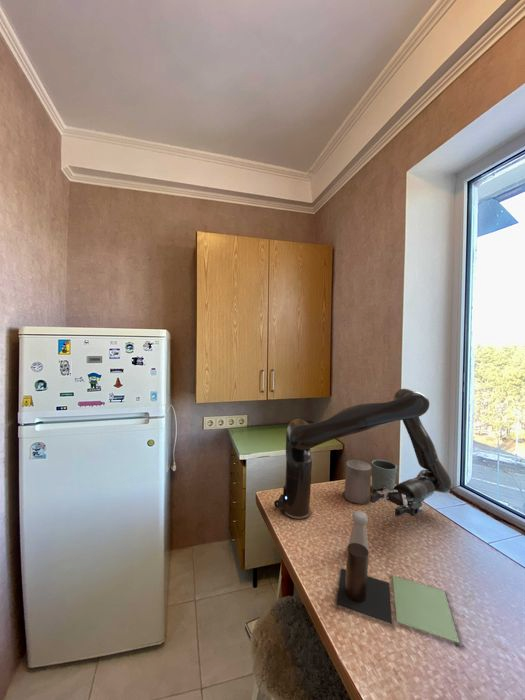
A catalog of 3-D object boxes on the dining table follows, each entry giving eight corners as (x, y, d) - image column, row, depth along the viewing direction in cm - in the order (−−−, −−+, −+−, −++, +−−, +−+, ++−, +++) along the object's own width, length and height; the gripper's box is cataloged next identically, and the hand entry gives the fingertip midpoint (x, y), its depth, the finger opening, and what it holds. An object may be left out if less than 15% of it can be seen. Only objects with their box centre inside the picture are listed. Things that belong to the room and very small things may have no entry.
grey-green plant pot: (383, 500, 118) (385, 470, 118) (364, 488, 127) (366, 461, 127) (400, 495, 123) (402, 466, 122) (381, 484, 132) (382, 457, 131)
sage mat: (396, 624, 65) (396, 621, 65) (392, 577, 79) (392, 575, 79) (459, 645, 61) (459, 643, 61) (444, 593, 74) (444, 590, 74)
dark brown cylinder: (344, 598, 71) (346, 553, 70) (345, 582, 76) (348, 540, 75) (365, 605, 69) (368, 559, 69) (366, 589, 74) (368, 546, 73)
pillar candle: (357, 490, 125) (359, 455, 125) (374, 501, 117) (376, 464, 116) (339, 494, 121) (341, 458, 121) (356, 506, 112) (358, 467, 112)
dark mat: (336, 607, 69) (336, 604, 69) (341, 570, 80) (341, 568, 80) (391, 626, 65) (392, 623, 65) (389, 585, 76) (389, 582, 76)
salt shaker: (369, 567, 82) (372, 521, 82) (348, 563, 83) (351, 518, 83) (366, 552, 88) (369, 509, 87) (346, 548, 89) (349, 506, 88)
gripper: (392, 473, 106) (364, 484, 97) (433, 490, 94) (405, 505, 85) (391, 493, 106) (363, 506, 97) (432, 513, 95) (404, 530, 86)
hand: (383, 505), depth 91 cm, fingers open, 8 cm apart
